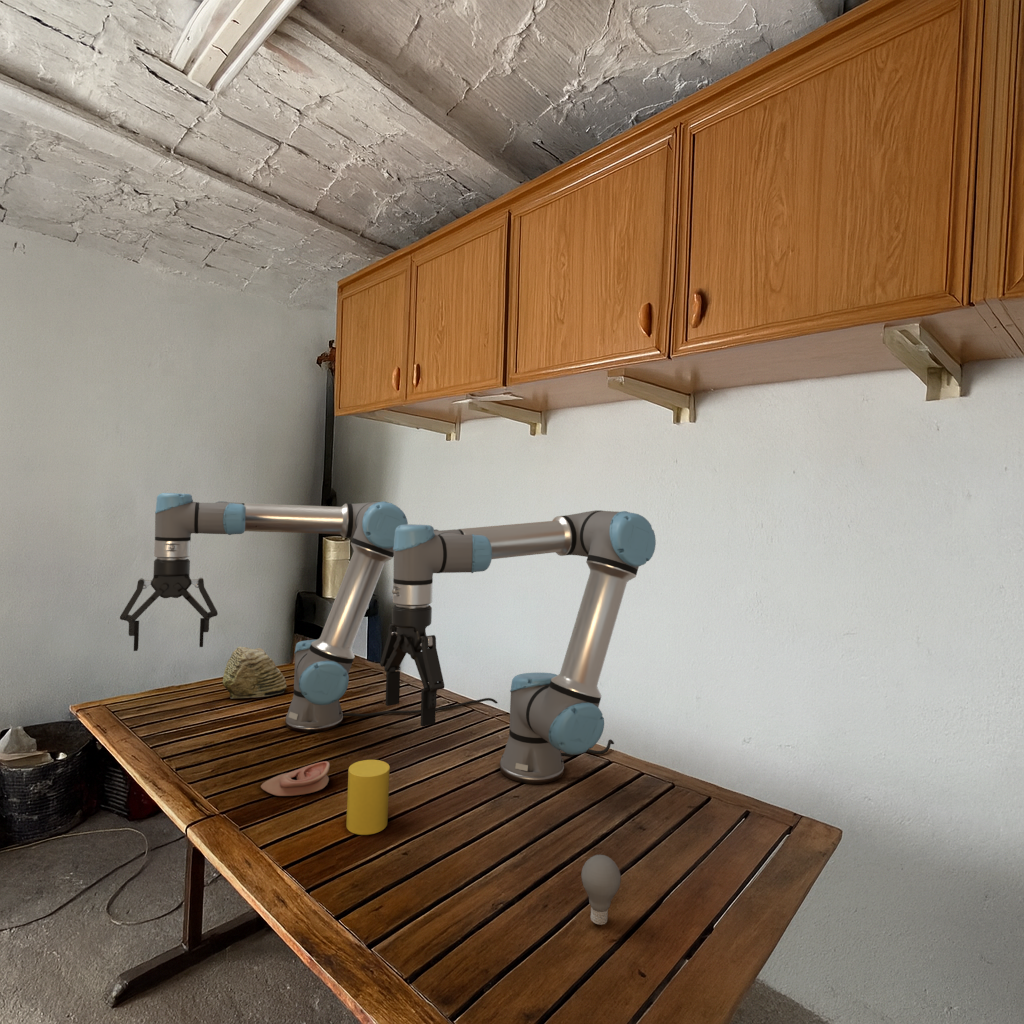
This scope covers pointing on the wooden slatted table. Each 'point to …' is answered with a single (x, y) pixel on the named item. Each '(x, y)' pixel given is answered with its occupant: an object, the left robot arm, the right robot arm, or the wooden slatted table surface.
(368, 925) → the wooden slatted table surface
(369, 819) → the canister
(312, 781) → the anatomical model
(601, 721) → the right robot arm
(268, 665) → the fossil
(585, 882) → the light bulb
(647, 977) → the wooden slatted table surface
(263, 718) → the wooden slatted table surface
